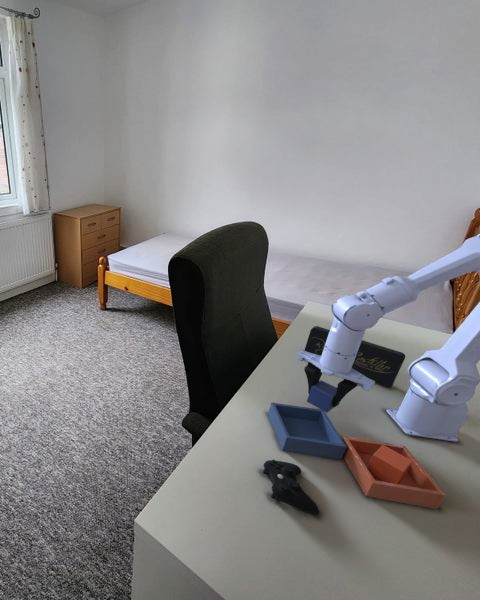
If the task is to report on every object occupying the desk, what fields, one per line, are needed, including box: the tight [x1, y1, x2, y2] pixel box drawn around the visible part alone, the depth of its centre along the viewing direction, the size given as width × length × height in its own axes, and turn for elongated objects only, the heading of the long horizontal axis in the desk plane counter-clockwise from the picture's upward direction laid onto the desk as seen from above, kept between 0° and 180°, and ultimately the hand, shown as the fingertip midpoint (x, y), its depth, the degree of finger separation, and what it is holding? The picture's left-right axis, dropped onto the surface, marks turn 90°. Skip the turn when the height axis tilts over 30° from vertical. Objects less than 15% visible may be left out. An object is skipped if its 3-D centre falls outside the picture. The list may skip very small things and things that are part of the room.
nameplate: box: [303, 325, 406, 388], centre depth 95 cm, size 21×2×10 cm, turn 41°
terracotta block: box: [367, 445, 412, 484], centre depth 64 cm, size 4×4×4 cm
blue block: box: [306, 379, 337, 413], centre depth 79 cm, size 4×4×4 cm
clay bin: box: [341, 436, 447, 510], centre depth 64 cm, size 11×11×4 cm
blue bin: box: [267, 402, 346, 460], centre depth 74 cm, size 11×11×4 cm
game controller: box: [262, 459, 320, 515], centre depth 62 cm, size 10×5×7 cm
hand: (322, 398), depth 80 cm, fingers closed on blue block, 4 cm apart
